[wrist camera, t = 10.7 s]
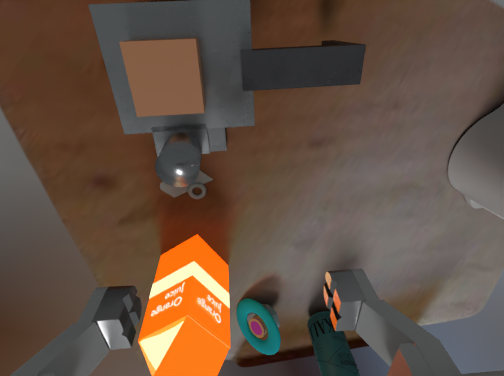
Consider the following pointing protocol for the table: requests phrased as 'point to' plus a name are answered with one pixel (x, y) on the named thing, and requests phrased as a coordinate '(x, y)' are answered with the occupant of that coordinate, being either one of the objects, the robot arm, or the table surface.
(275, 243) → the table surface
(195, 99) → the brown block
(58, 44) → the table surface
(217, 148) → the grey windowed jig
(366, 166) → the table surface
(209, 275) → the orange juice
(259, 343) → the ornament
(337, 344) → the beverage bottle
